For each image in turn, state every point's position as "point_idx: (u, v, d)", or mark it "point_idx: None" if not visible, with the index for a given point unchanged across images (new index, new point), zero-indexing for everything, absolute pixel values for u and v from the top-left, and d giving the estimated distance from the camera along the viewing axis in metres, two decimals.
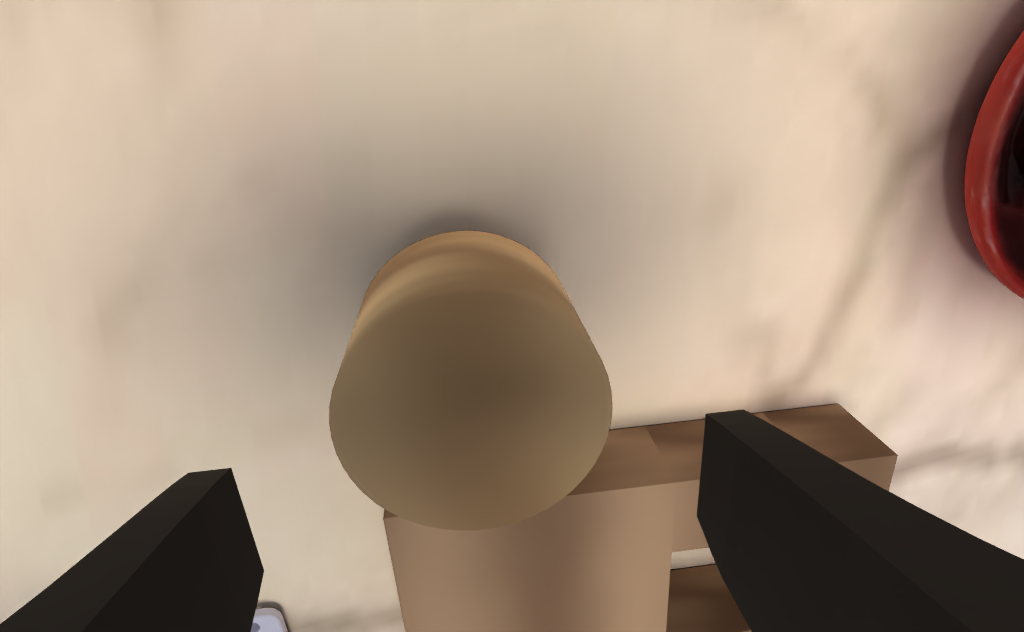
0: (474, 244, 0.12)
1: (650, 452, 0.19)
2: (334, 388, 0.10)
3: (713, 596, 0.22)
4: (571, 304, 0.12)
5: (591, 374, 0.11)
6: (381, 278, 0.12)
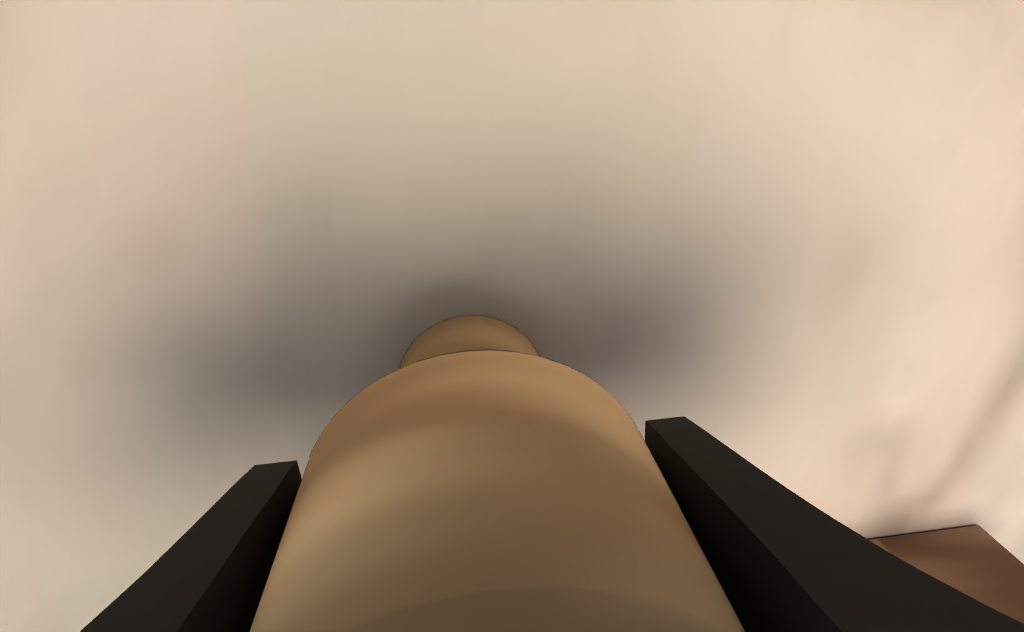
0: (499, 392, 0.07)
1: None
2: None
3: None
4: (676, 503, 0.07)
5: None
6: (331, 450, 0.07)
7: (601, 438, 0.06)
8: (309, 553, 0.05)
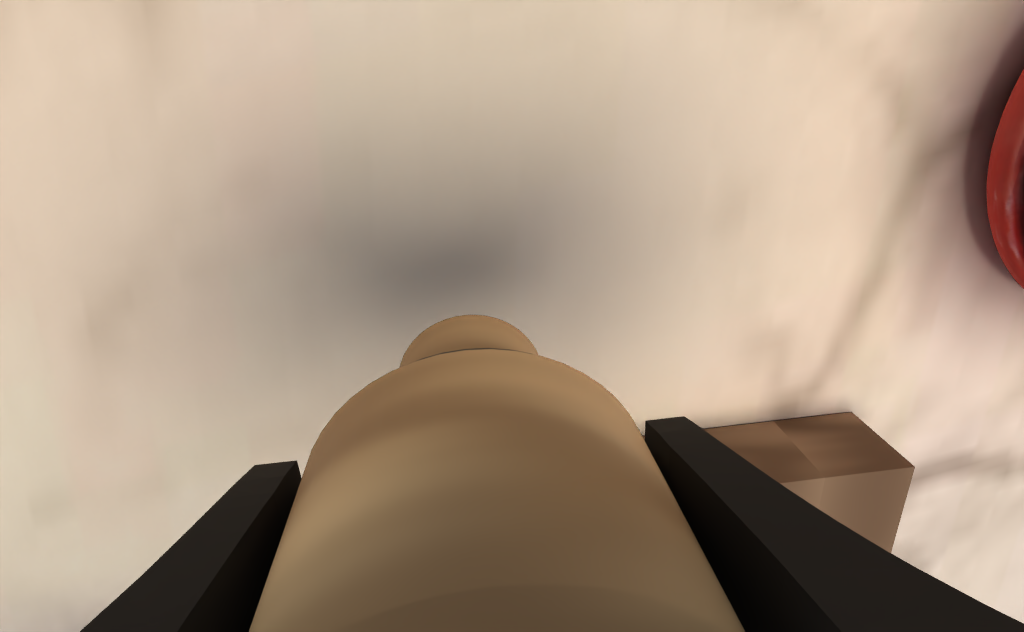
0: (499, 390, 0.07)
1: None
2: None
3: None
4: (675, 501, 0.07)
5: None
6: (331, 449, 0.07)
7: (600, 436, 0.06)
8: (309, 550, 0.05)
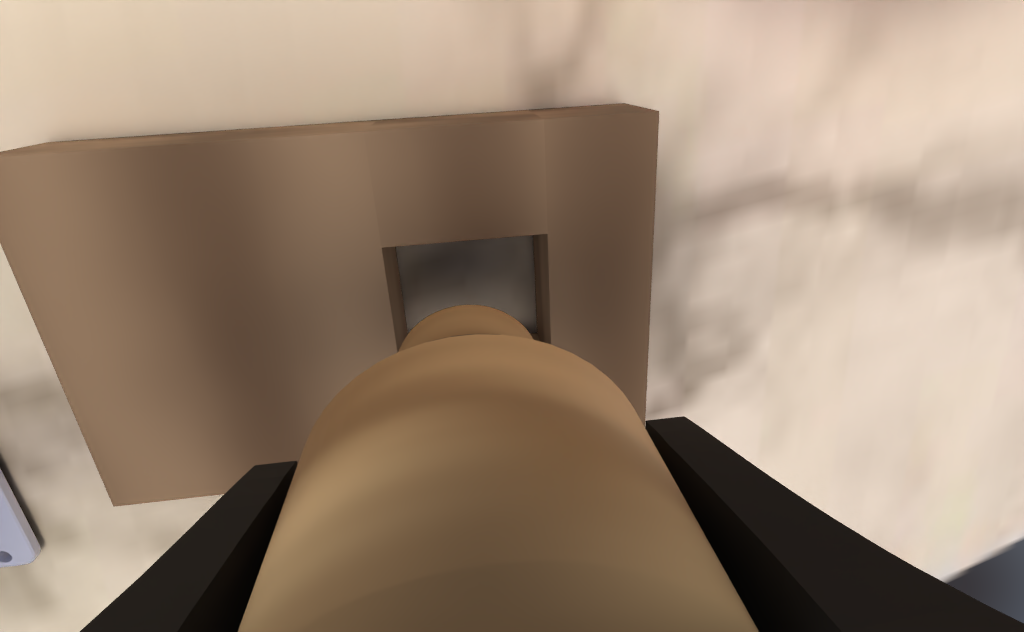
0: (483, 374, 0.07)
1: (360, 125, 0.15)
2: None
3: None
4: (669, 476, 0.07)
5: None
6: (318, 443, 0.07)
7: (587, 414, 0.06)
8: (292, 544, 0.05)
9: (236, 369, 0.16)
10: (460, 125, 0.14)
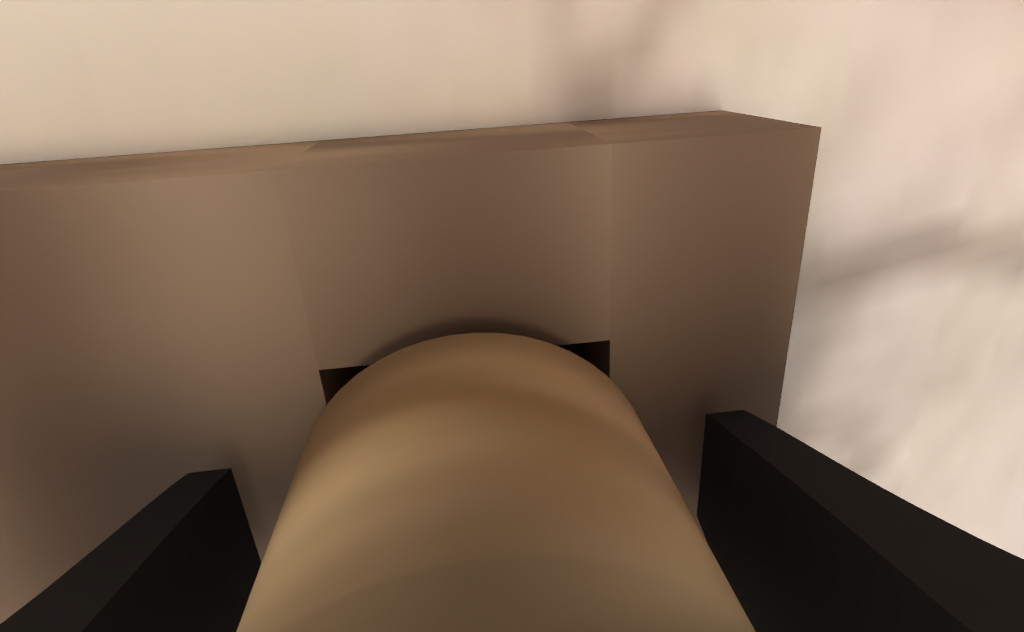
0: (481, 371, 0.07)
1: (281, 154, 0.09)
2: None
3: None
4: (666, 473, 0.07)
5: None
6: (319, 440, 0.07)
7: (585, 411, 0.06)
8: (293, 538, 0.05)
9: None
10: (456, 156, 0.07)
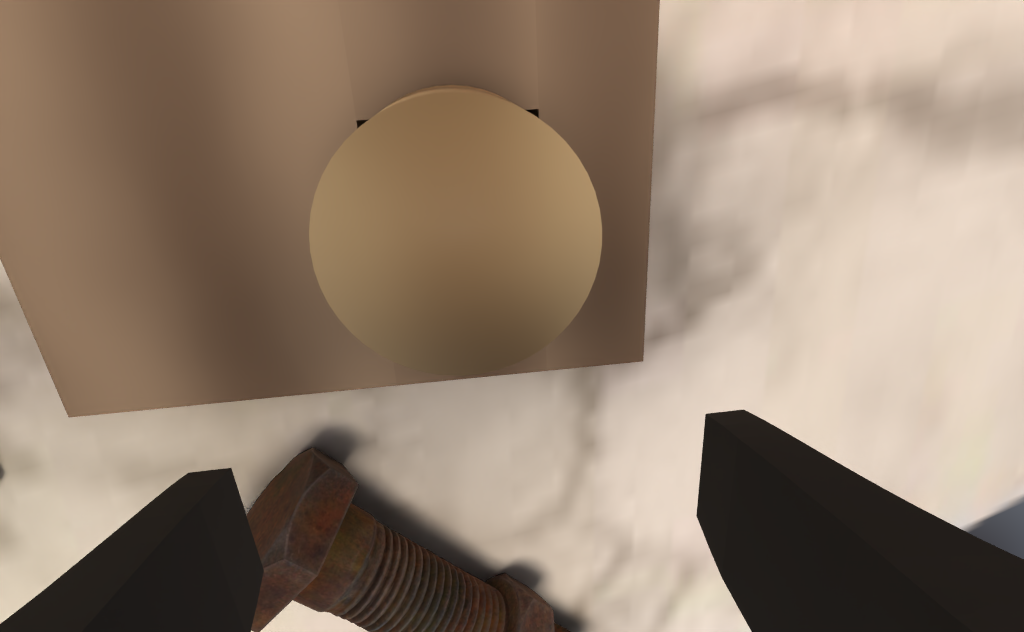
0: (454, 86, 0.12)
1: None
2: (312, 211, 0.10)
3: None
4: None
5: (578, 189, 0.10)
6: None
7: (511, 102, 0.12)
8: None
9: (199, 260, 0.14)
10: None
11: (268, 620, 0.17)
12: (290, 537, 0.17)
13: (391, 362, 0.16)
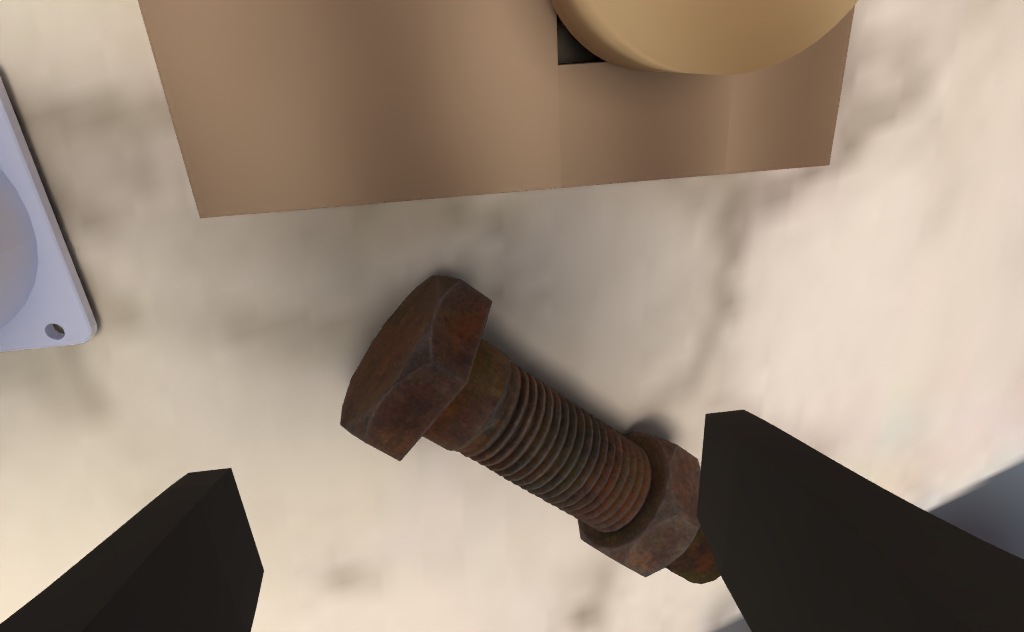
0: None
1: None
2: None
3: None
4: None
5: None
6: None
7: None
8: None
9: (360, 16, 0.13)
10: None
11: (411, 443, 0.15)
12: (433, 340, 0.15)
13: (558, 158, 0.14)
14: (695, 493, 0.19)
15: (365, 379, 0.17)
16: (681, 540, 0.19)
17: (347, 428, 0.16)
